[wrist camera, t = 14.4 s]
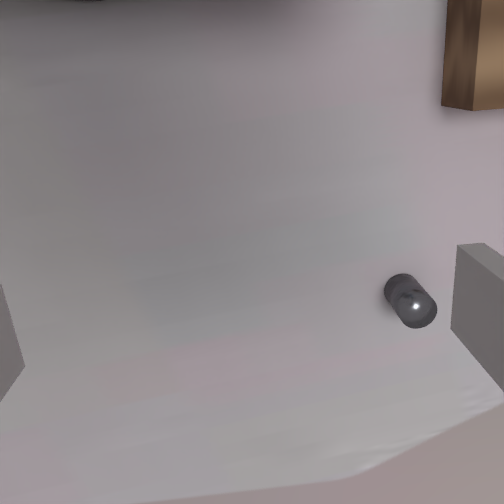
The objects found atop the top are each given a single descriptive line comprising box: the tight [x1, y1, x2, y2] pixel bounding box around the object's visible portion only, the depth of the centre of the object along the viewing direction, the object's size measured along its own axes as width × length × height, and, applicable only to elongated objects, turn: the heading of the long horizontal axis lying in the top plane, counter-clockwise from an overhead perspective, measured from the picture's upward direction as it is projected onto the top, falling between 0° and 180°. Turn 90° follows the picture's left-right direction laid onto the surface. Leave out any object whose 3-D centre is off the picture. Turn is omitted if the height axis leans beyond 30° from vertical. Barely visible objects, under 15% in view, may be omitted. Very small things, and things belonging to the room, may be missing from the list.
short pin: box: [384, 274, 437, 328], centre depth 47 cm, size 4×4×5 cm
